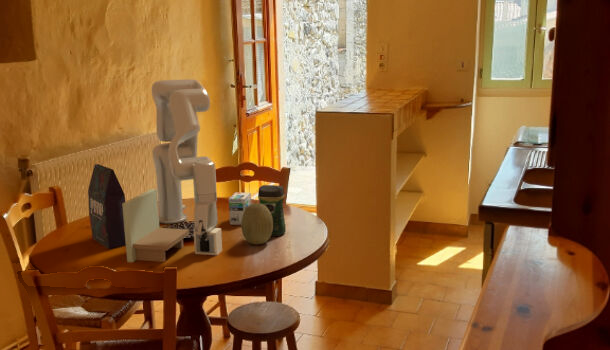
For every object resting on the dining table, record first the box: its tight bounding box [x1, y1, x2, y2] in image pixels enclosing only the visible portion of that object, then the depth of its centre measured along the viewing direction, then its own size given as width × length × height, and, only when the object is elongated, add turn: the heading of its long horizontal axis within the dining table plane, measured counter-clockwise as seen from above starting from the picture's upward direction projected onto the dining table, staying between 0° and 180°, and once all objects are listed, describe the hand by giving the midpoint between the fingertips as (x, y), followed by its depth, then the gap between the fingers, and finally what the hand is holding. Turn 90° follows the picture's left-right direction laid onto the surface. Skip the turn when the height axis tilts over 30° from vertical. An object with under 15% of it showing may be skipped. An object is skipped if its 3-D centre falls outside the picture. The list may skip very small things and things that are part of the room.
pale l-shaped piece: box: [122, 188, 190, 263], centre depth 203 cm, size 20×14×20 cm
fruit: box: [240, 202, 273, 246], centre depth 212 cm, size 11×11×15 cm
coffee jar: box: [257, 184, 287, 237], centre depth 223 cm, size 10×8×19 cm
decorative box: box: [87, 163, 126, 250], centre depth 216 cm, size 8×16×28 cm, turn 40°
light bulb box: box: [228, 191, 252, 226], centre depth 240 cm, size 11×7×11 cm, turn 171°
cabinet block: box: [193, 227, 223, 256], centre depth 205 cm, size 5×8×8 cm, turn 77°
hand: (208, 247), depth 206 cm, fingers closed on cabinet block, 5 cm apart
